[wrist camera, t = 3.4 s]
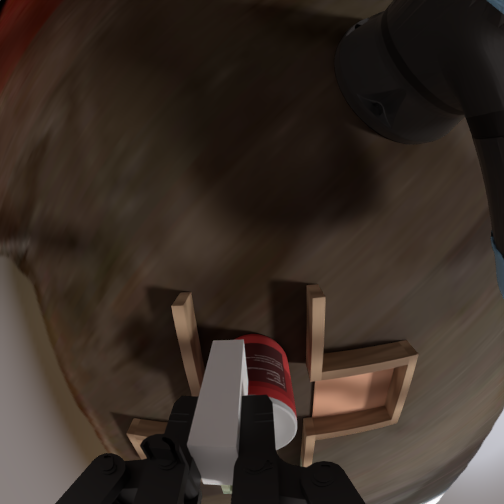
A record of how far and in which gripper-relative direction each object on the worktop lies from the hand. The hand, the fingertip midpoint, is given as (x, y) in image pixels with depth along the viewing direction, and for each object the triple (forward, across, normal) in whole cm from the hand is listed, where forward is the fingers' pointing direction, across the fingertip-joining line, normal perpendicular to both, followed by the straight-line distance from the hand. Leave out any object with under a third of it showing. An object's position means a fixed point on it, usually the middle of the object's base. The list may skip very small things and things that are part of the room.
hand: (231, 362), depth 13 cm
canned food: (+16, 0, -11) cm, 19 cm away
